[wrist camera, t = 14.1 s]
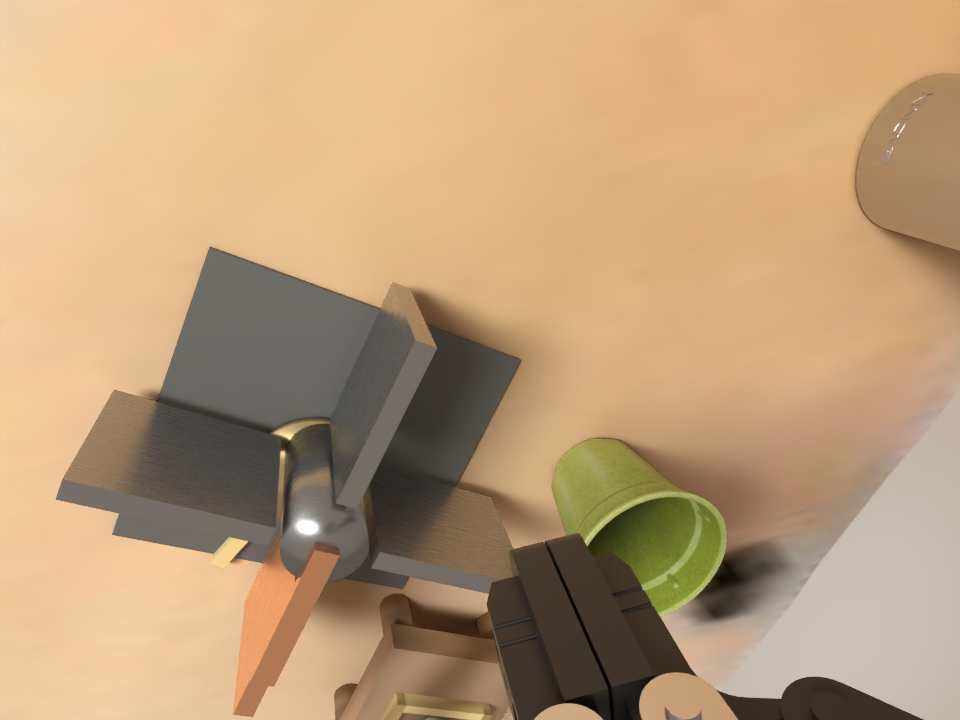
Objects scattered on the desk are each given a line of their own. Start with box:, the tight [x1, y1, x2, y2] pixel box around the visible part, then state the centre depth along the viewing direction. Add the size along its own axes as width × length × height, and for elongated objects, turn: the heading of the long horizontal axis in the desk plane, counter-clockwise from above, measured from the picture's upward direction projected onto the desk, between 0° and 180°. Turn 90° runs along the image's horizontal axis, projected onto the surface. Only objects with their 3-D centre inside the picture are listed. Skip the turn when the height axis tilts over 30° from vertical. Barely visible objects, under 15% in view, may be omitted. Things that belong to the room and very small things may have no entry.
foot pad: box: [112, 247, 520, 589], centre depth 38 cm, size 18×19×1 cm
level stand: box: [334, 594, 510, 720], centre depth 44 cm, size 10×11×7 cm
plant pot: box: [552, 438, 727, 617], centre depth 40 cm, size 9×9×9 cm
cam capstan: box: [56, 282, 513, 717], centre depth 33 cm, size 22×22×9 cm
